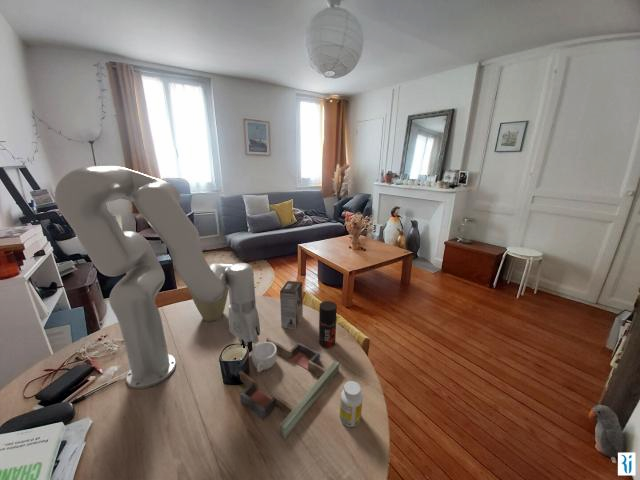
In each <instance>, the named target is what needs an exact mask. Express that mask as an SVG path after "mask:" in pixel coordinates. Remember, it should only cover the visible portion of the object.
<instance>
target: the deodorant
mask: <svg viewBox="0 0 640 480" xmlns="http://www.w3.org/2000/svg"><path fill="white" fill-rule="evenodd" d="M318 307H319V310H318V314H319V315H318V316H319V317H318V345H319V346H320V347H321V348H323V349H331V348H333V347H335V345H336V337H337V336H336V335H337V334H336V333H337V310H338V305H337V304H336V302H335V301H331V300H324V301H322V302H320V303H319V306H318Z"/></svg>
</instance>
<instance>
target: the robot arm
mask: <svg viewBox="0 0 640 480" xmlns="http://www.w3.org/2000/svg"><path fill="white" fill-rule="evenodd" d="M54 200H55V204H56V206H57V208H58V211H59V212H60V214H61V215H62V216H63V218H64V219H65V221H66V222H67V223H68V225H69V226H70V228H71V229H72V230H73V232H74V234H75V235H76V237H77V239H78V241H79V243H80V245H81V246H82V247H83V249H84V251H85V253H86V254H87V255H88V258H89V259H90V261H91V262H92V264H93V265H94V267H95V268H96V269H97V270H98V272H99V273H100V274H102V275H104V276H107V277H119V276H122V275H124V274H125V275H124V276H122V278H121V279H120V280H118V282H116V284H115V285H114V286H113V288H112V289H111V291H110V293H109V298H108V300H109V305H110V308H111V310H112V312H113V313H114V315H115V317H116V320H117V322H118V325H119V329H120V333H121V336H122V340H123V345H124V348H125V352H126V355H127V359H128V364H129V368H130V369H129V370H128V372H127V374H126V378H125V380H126V384H127V385H128V387H130V388H133V389H146V388H150V387H152V386H156V385H158V384H159V383H161V382H163V381H165V380H166V379H167V378H168V377H169V376H170V375H172V373H173V372H174V370H175V369H176V365H177V361H176V358H175V357H174V356H173V355H172V354H169V352H168V351H169V350H168V345H167V341H166V336H165V330H164V325H163V320H162V315H161V313H160V310H159V308H158V306H157V303H156V297H157V295H158V294H159V292H160V290H161V289H162V287H163V286H164V283H165V280H166V276H165V272H164V270H163V268H162V265H161V264H160V262H159V260H158V257H157V256H156V254H155V251H154V250H153V248H152V245H151V244H150V243H149V240H147V238H145V237H144V235H142V234H141V233H138V232H136V231H131V230H124V231H123V229H122V228H121V226H120V224H119V222H118V220H117V219H116V217H115V216H114V214H112V213H111V211H110V210H109V209H107V207H106V205H107V203H108V202H109V203H110V202H114V201H117V200H125V201H129V202H131V203H133V204H134V206H135V208H136V210H137V211H138V212H139V213H140V215H141V216H142V217H143V218H144V220H145V221H146V222H147V223H148V225H150V227H151V228H152V229H153V231H154V233H156V234H157V236H158V237H159V239H160V240H161V241H162V243H163V244H165V246H166V248H167V249H168V252H169V255H170V259H171V261H172V262H173V265H174V267H175V270H176V272H177V274H178V276H179V277H180V279H181V281H182V282H183V283H184V284H185V285H186V287H187V288H188V290H189V289H190V290H189V292H190V291H191V292H192V293H193V294H194V295H195V296H196V297H197V298H198V299H200V300H202V301H204V302H215V301H217V300H219V299H220V298H221V297H222V296H223V294H224V292H225V288H226V287H228V297H229V307H228V330H229V333H231V334H232V335H234V336H235V337H237V338H238V342H239V343H240V347H241V346H242V345H243V348H245V346H248V349H249V353H252V350H253V348H254V347H253V344H254V345H255V344H256V345H257V344H258V343H260V342H259V341H260V340H259V337H258V336H260V335H261V325H260V324H261V323H260V318H259V313H258V310H257V309H258V308H257V304H256V303H257V302H256V289H255V276H254V274H255V273H254V268H253V266H252V265H251V264H249V263H247V262H237V263H234V264H233V263H232V264H228V263H220V262H218V263H217V262H216V263H215V262H213V263H208V262H207V260H206V258H205V255H204V253H203V250H202V246H201V245H202V243H201V238H200V234H199V231H198V228H196V226H195V225H194V223H193V221H191V219H190V218H189V217H188V215H187V214H186V212H185V211H184V210H183V208H182V207H181V205H180V203H181V194H180V192H179V190H178V188H177V187H176V186H175V185H174V184H172V183H170V182H168V181H165V180H162V179H160V178H156V177H155V176H154V177H153V176H150V175H147V174H144V173H141V172H139V171H136V170H132V169H129V168H126V167H124V166H118V165H88V166H83V167H79V168H77V169H73V170H71V171H69V172H68V173H66V174H65V175H64V176H63V177H62V178H60V180H59V181H58V182H57V185H56V186H55V192H54ZM249 353H248V354H249Z"/></svg>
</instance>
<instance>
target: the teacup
mask: <svg viewBox="0 0 640 480" xmlns="http://www.w3.org/2000/svg"><path fill="white" fill-rule="evenodd" d="M252 348H253V350H252V351H251V360H252V363H253V366H255V368H256V372H257V373H261V371H265V370H266V371H267V370H269V369H271V368H272V367H273V366H274V365H275V363H276V361H277V356H278V353H277V348H276V346H275V344H273V343H271V342H266V341H262V342H258V343H256V345H254V347H252Z"/></svg>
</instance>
